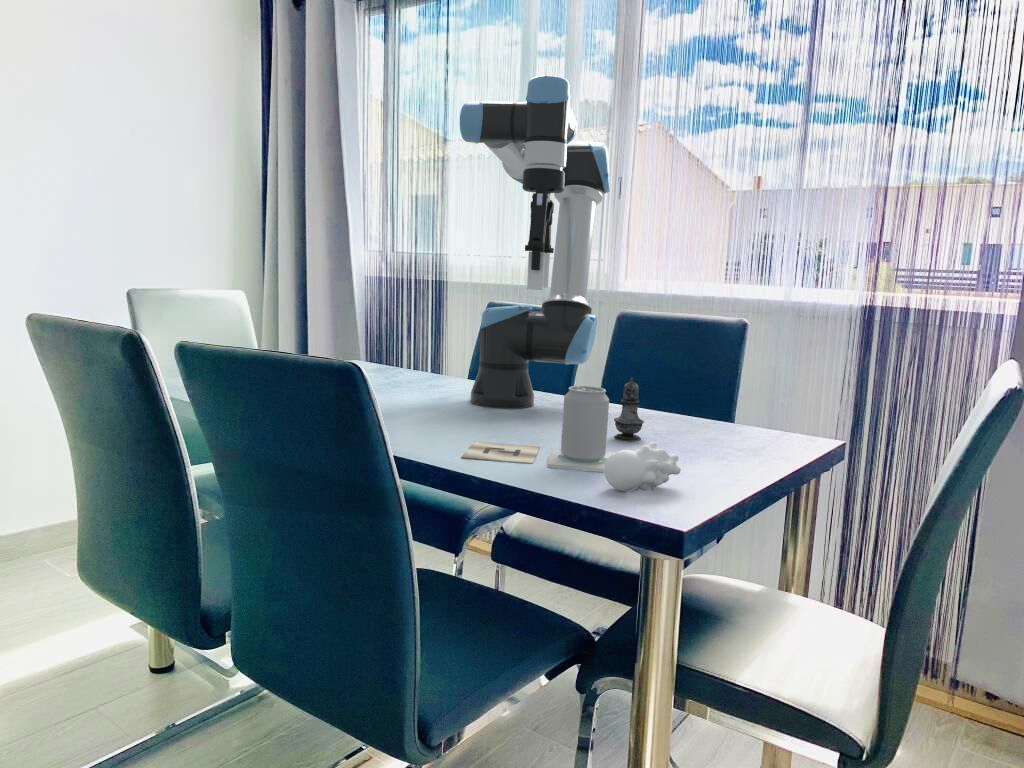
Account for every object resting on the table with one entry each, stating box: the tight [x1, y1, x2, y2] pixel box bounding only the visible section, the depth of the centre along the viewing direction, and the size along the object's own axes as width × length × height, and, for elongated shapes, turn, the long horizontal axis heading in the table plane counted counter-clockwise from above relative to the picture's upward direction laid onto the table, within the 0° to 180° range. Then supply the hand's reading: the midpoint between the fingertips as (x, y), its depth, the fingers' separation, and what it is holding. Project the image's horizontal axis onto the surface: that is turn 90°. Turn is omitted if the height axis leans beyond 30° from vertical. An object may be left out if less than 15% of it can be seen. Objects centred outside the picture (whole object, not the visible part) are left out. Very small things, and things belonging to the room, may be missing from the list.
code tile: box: [460, 441, 540, 465], centre depth 130 cm, size 12×12×1 cm
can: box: [560, 385, 610, 463], centre depth 125 cm, size 8×8×12 cm
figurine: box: [603, 441, 682, 492], centre depth 112 cm, size 7×7×12 cm
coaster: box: [546, 448, 613, 473], centre depth 126 cm, size 11×11×1 cm
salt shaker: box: [613, 377, 645, 442], centre depth 146 cm, size 6×6×12 cm
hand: (538, 288), depth 138 cm, fingers open, 13 cm apart
